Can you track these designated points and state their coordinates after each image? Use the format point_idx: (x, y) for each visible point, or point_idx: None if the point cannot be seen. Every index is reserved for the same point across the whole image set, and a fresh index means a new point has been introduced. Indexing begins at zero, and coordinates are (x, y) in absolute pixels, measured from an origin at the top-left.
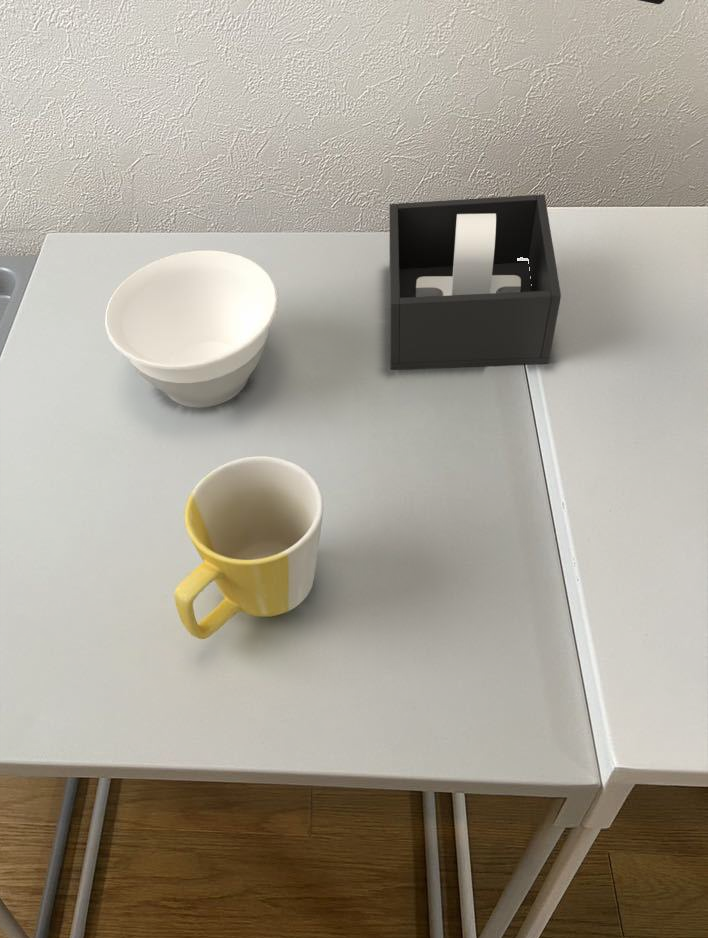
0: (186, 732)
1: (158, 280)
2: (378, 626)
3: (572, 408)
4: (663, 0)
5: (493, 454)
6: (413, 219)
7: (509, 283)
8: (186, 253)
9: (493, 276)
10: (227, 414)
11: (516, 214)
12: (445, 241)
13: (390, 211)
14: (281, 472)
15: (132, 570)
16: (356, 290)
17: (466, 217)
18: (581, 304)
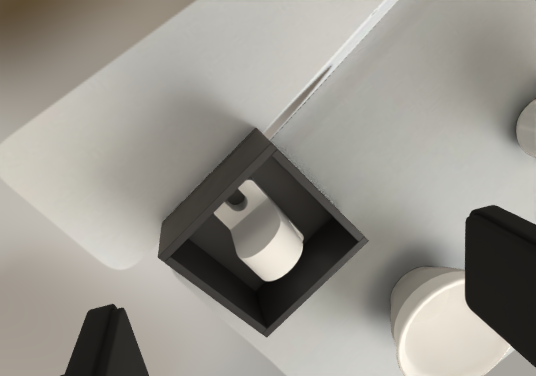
0: None
1: (438, 374)
2: (527, 43)
3: (284, 77)
4: (491, 206)
5: (363, 91)
6: (254, 313)
7: (226, 209)
8: None
9: (228, 225)
10: (438, 256)
11: (184, 259)
12: (230, 282)
13: (274, 329)
14: None
15: None
16: None
17: (278, 269)
18: (175, 156)
